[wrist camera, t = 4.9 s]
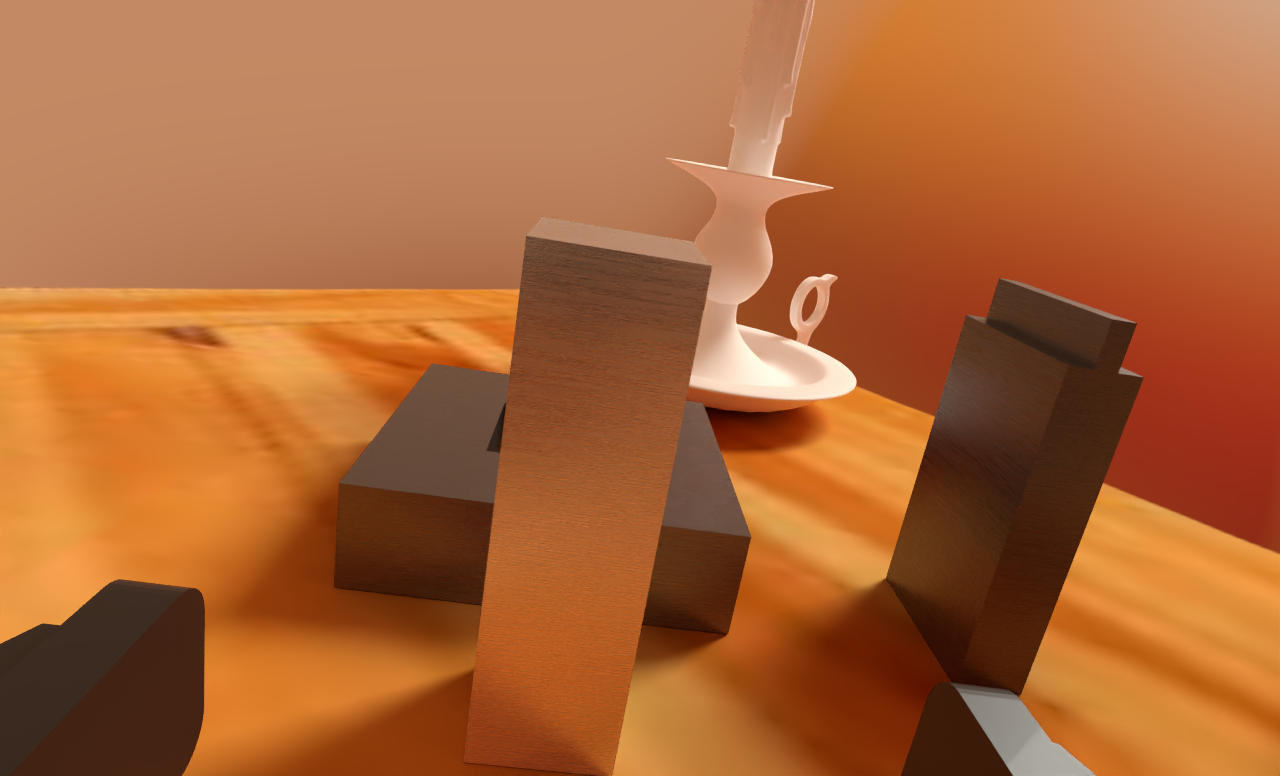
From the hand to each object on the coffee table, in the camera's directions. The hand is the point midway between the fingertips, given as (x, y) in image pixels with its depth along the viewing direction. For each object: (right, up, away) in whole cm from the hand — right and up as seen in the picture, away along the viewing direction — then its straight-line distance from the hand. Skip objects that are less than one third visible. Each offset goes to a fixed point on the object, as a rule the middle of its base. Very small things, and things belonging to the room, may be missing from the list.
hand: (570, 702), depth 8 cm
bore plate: (-3, -2, +25) cm, 26 cm away
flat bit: (+13, -6, +22) cm, 26 cm away
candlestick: (+7, +3, +49) cm, 50 cm away
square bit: (-2, -6, +14) cm, 15 cm away
